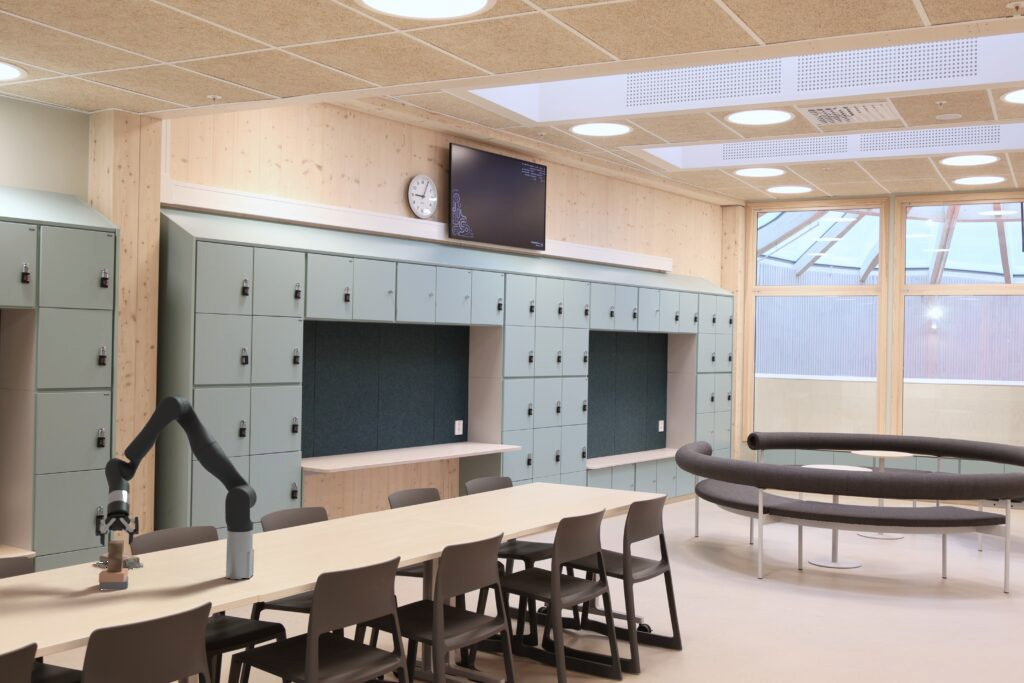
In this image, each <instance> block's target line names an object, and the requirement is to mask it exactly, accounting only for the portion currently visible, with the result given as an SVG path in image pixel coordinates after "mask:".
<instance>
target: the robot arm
mask: <svg viewBox="0 0 1024 683" xmlns="http://www.w3.org/2000/svg"><path fill="white" fill-rule="evenodd" d="M173 421H176V422H177V423H178V424H179V426H180V427H181V428H182V430H183V431H184V433H185V434H186V436H187V440H188V444H189V447H190V450H191V452H192V454H193V455H194V457H195V458H196V460H197V461H198V463H199V464H200V465H201V466H202V468H204V469H205V470H206V471H207V472H208V473H209V474H211V475H212V476H213V477H214V478H216V479H217V480H219V482H221V483H222V485H223V486H224V488H225V489H226V490H227V493H226V496H225V501H224V502H225V503H224V504H225V505H224V507H225V509H224V513H225V515H224V516H225V517H224V518H225V524H226V553H225V554H226V556H225V557H226V559H225V560H226V561H225V563H226V564H225V578H226V577H227V578H226V579H228V578H230V579H229V580H235V579H238V580H242V579H241V578H250V577H251V576H252V575H253V574H254V572H255V570H254V569H255V568H254V566H255V565H254V564H255V549H254V547H253V545H254V543H253V542H254V523H253V521H252V519H251V508H254V507H255V505H256V503H257V498H258V496H257V493H256V492H257V491H255V489H254V487H252V486H251V484H250V483H249V482H248V481H247V480H246V479H245V478H244V477H243V476H242V475H241V473H240V472H239V471H238V470H237V468H236V467H235V465H234V463H232V460H230V458H229V457H228V455H227V454H226V453H225V451H224V450H223V448H222V447H221V445H220V444H219V442H217V440H216V439H215V438H214V436H213V435H212V434H211V433H210V431H209V429H208V428H207V427H206V426H205V425H204V423H203V422H202V420H201V419H200V417H199V415H198V413H197V412H196V410H195V409H194V407H193V405H192V403H191V402H190V401H189V399H188V398H187V397H186V396H184V395H182V394H171V395H167V396H164V397H163V398H162V399H161V400H160V401H159V403H158V405H157V406H156V408H155V410H154V411H153V413H152V414H151V416H150V418H148V421H147V422H146V424H145V425H144V427H143V428H142V429H141V430H140V432H139V433H138V434H137V435H136V436H135V437H134V438H133V440H132V441H131V442H130V443H129V444H128V446H127V447H126V448H125V450H124V452H123V453H124V456H125V458H126V459H127V460H129V461H126V460H123V459H121V458H118V457H113V458H110V459H109V460H108V461H107V462H106V464H105V467H104V474H105V477H106V481H107V486H108V496H107V502H106V503H107V504H106V518H105V519H101V517H97V519H96V523H95V524H96V525H95V530H94V531H95V532H94V533H95V536H96V537H100V538H99V543H100V545H102V546H105V544H106V543H105V541H106V535H107V534H109V533H110V532H111V531H112V532H116V531H119V532H122V531H124V532H125V533H127V534H128V545H132V543H134V535H139V534H140V533H139V531H140V526H139V525H140V524H139V523H140V522H139V517H138V516H135V517H133V518H131V517H130V507H131V498H130V483H129V481H131V480H132V479H133V478H134V477H135V475H136V473H137V470H138V468H139V466H140V464H141V462H142V461H143V459H144V458H145V457H146V455H148V453H149V452H150V451H151V450H152V448H153V447H154V445H155V443H156V442H157V440H158V437H159V436H160V434H161V432H162V431H163V430H164V429H165V428H166V427H167V426H168V425H169V424H171V423H172V422H173ZM131 523H132V525H134V529H133V528H132V527H131V525H130V524H131ZM104 524H105V526H104V528H103V529H102V530H101V527H102V526H103V525H104ZM253 576H254V575H253ZM253 576H252V577H253ZM252 577H251V578H252ZM251 578H250V579H251Z"/></svg>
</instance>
